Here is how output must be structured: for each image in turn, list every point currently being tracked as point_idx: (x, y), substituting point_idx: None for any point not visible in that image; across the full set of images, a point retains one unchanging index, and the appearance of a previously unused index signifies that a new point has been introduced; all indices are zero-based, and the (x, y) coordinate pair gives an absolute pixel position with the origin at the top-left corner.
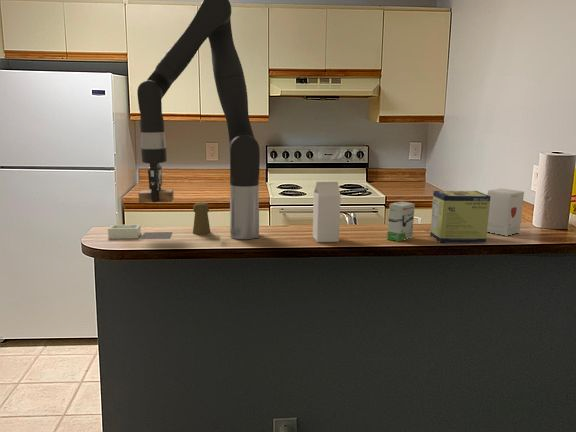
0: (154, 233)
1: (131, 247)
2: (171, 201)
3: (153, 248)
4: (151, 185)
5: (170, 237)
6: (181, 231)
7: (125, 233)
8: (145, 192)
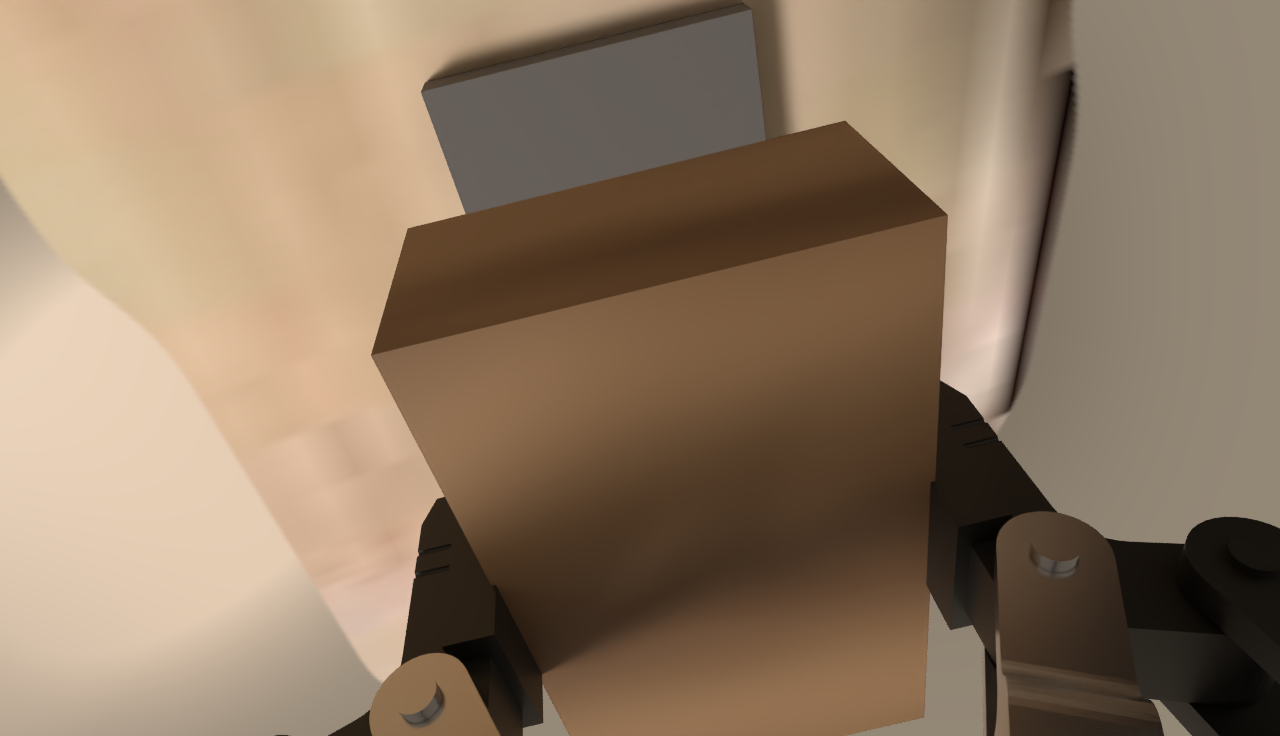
0: None
1: (945, 287)
2: (848, 133)
3: (1003, 88)
4: (1263, 691)
5: (695, 23)
6: (202, 33)
7: None
8: (864, 670)
